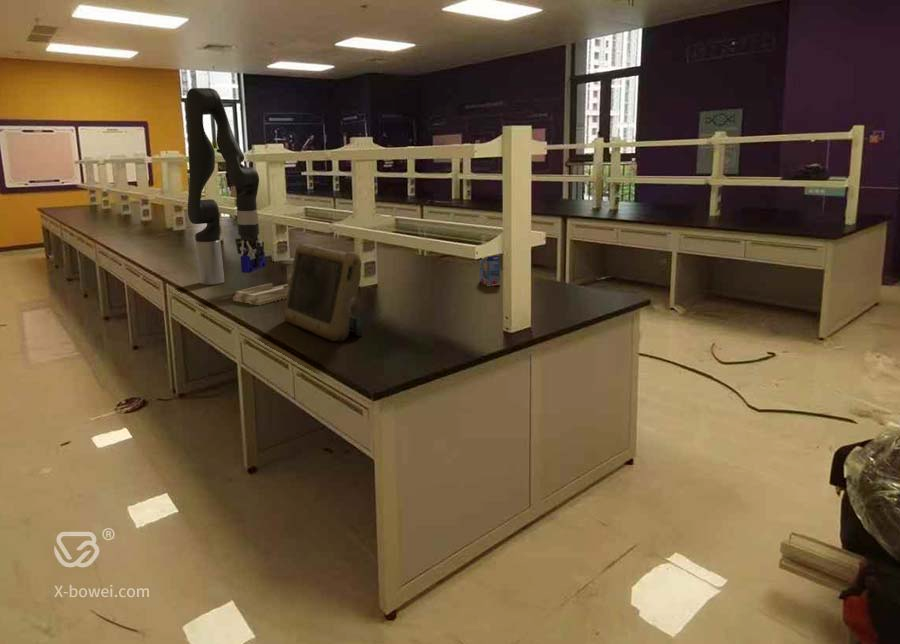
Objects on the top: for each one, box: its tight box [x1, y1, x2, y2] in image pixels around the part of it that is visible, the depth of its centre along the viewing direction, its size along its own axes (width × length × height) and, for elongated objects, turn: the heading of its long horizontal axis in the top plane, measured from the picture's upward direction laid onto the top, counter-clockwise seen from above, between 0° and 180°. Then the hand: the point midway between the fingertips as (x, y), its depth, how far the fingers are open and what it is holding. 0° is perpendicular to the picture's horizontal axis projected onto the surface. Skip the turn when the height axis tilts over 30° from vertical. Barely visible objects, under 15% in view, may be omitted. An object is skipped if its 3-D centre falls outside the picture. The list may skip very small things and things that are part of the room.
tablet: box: [283, 240, 364, 343], centre depth 193 cm, size 33×14×25 cm, turn 45°
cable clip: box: [239, 251, 266, 274], centre depth 246 cm, size 12×4×6 cm, turn 165°
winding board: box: [232, 257, 294, 306], centre depth 238 cm, size 14×27×12 cm, turn 144°
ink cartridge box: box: [478, 254, 501, 285], centre depth 254 cm, size 10×6×14 cm, turn 18°
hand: (251, 266), depth 246 cm, fingers closed on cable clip, 5 cm apart
